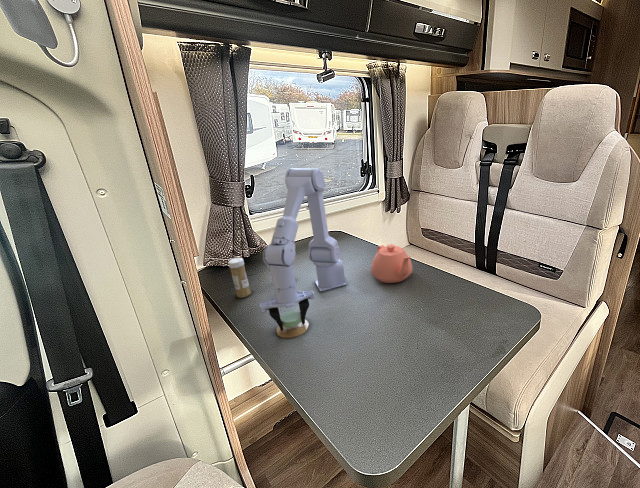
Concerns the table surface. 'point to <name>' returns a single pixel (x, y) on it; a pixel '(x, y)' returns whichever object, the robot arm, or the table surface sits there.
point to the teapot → (391, 264)
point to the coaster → (293, 330)
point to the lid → (291, 319)
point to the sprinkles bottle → (239, 277)
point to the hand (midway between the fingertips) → (292, 325)
